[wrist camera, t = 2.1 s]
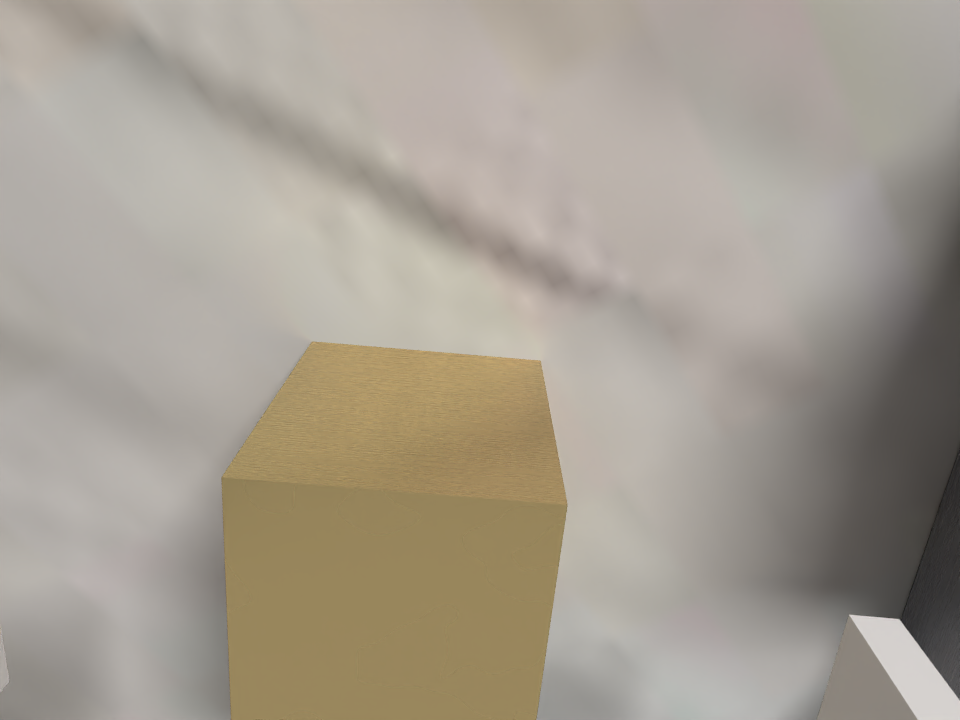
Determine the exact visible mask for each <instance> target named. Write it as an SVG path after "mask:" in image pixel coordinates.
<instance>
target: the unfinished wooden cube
mask: <svg viewBox="0 0 960 720" xmlns="http://www.w3.org/2000/svg"><path fill="white" fill-rule="evenodd" d="M222 502H223V527H224V552H225V578H226V603H227V628H228V654H229V679H230V704H231V720H536V718H537V711H538V704H539V697H540V690H541V683H542V677H543V670H544V663H545V656H546V649H547V642H548V635H549V628H550V622H551V615H552V608H553V601H554V594H555V587H556V580H557V574H558V567H559V560H560V553H561V546H562V539H563V532H564V525H565V519H566V512H567V500H566V494H565V489H564V484H563V478H562V473H561V468H560V462H559V457H558V452H557V446H556V441H555V436H554V430H553V425H552V419H551V414H550V409H549V403H548V398H547V393H546V387H545V382H544V377H543V371H542V366H541V361H538V360H526V359H514V358H502V357H490V356H478V355H466V354H454V353H443V352H431V351H419V350H407V349H395V348H383V347H371V346H359V345H348V344H336V343H324V342H311V344H310V345H309V347H308V348H307V350H306V351H305V353H304V354H303V356H302V357H301V359H300V360H299V362H298V363H297V365H296V366H295V368H294V369H293V371H292V372H291V374H290V375H289V377H288V378H287V380H286V381H285V383H284V384H283V386H282V387H281V389H280V390H279V392H278V393H277V395H276V396H275V398H274V399H273V401H272V402H271V404H270V405H269V407H268V408H267V410H266V411H265V413H264V414H263V416H262V417H261V419H260V420H259V422H258V423H257V425H256V426H255V428H254V429H253V431H252V432H251V434H250V435H249V437H248V438H247V440H246V441H245V443H244V444H243V446H242V447H241V449H240V450H239V452H238V453H237V455H236V456H235V458H234V459H233V461H232V462H231V464H230V465H229V467H228V468H227V470H226V471H225V473H224V474H223V476H222Z"/></svg>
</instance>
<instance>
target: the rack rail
mask: <svg viewBox="0 0 960 720" xmlns="http://www.w3.org/2000/svg"><path fill="white" fill-rule="evenodd" d="M901 622H902V624H903V625H904V626H905V628H906V629H907V630H908V632H909V633H910V634H911V636H912V637H913V638H914V640H915V641H916V642H917V644H918V645H919V646H920V648H921V649H922V650H923V652H924V653H925V654H926V656H927V657H928V658H929V660H930V661H931V663H932V664H933V665H934V667H935V668H936V669H937V671H938V672H939V673H940V675H941V676H942V677H943V679H944V680H945V681H946V683H947V684H948V685H949V687H950V688H951V689H952V691H953V692H954V693H955V695H956V696H957V697H958V699H959V700H960V450H959V453H958V456H957V459H956V462H955V465H954V468H953V470H952V473H951V476H950V479H949V482H948V485H947V488H946V491H945V494H944V497H943V500H942V502H941V505H940V508H939V511H938V514H937V517H936V520H935V523H934V526H933V529H932V531H931V534H930V537H929V540H928V543H927V546H926V549H925V552H924V555H923V558H922V561H921V563H920V566H919V569H918V572H917V575H916V578H915V581H914V584H913V587H912V590H911V593H910V595H909V598H908V601H907V604H906V607H905V610H904V613H903V616H902V619H901Z"/></svg>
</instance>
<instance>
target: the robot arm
mask: <svg viewBox="0 0 960 720" xmlns="http://www.w3.org/2000/svg"><path fill="white" fill-rule="evenodd" d="M9 681H10V680H9V674H8V668H7V662H6V656H5V650H4V644H3V637H2V631H1V625H0V692H1V691H2V690H3V689H4V687H5V686H6V685H7V684H8V683H9ZM817 720H960V700H959V699H958V697H957V696H956V695H955V693H954V692H953V691H952V689H951V688H950V687H949V685H948V684H947V683H946V681H945V680H944V679H943V677H942V676H941V675H940V673H939V672H938V671H937V669H936V668H935V667H934V665H933V664H932V663H931V661H930V660H929V658H928V657H927V656H926V654H925V653H924V652H923V650H922V649H921V648H920V646H919V645H918V644H917V642H916V641H915V640H914V638H913V637H912V636H911V634H910V633H909V632H908V630H907V629H906V628H905V626H904V625H903V624H902V622H901V621H900V619H892V618H881V617H870V616H858V615H849V616H848V620H847V623H846V626H845V629H844V633H843V636H842V639H841V642H840V646H839V649H838V652H837V655H836V659H835V662H834V665H833V668H832V672H831V675H830V678H829V681H828V685H827V688H826V691H825V694H824V698H823V701H822V704H821V707H820V711H819V714H818V717H817Z"/></svg>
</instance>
